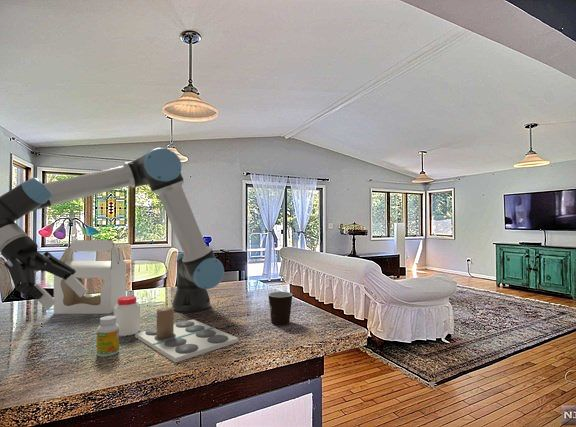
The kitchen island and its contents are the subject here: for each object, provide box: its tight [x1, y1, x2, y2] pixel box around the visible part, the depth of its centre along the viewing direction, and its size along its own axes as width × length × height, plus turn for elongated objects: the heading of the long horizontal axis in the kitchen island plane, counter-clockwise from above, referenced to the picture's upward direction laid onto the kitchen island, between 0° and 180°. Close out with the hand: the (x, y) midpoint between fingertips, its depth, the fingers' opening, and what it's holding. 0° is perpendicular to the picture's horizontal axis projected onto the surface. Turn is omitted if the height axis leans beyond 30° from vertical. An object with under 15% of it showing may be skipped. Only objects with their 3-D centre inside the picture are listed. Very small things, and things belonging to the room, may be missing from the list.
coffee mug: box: [267, 291, 293, 327], centre depth 120 cm, size 12×9×10 cm
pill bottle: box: [113, 295, 141, 337], centre depth 109 cm, size 8×8×11 cm
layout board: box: [134, 306, 239, 363], centre depth 102 cm, size 26×20×10 cm
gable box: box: [53, 239, 127, 315], centre depth 135 cm, size 22×13×28 cm, turn 92°
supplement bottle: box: [96, 315, 120, 358], centre depth 92 cm, size 5×5×10 cm
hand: (69, 299), depth 92 cm, fingers open, 13 cm apart
